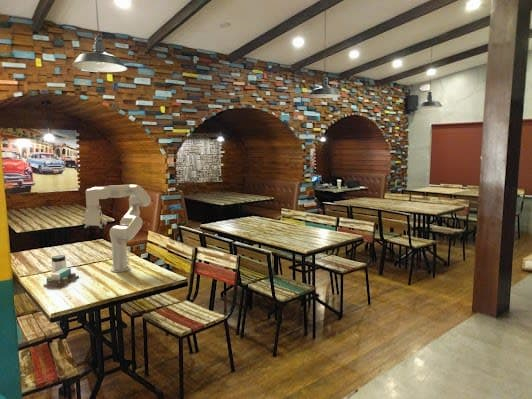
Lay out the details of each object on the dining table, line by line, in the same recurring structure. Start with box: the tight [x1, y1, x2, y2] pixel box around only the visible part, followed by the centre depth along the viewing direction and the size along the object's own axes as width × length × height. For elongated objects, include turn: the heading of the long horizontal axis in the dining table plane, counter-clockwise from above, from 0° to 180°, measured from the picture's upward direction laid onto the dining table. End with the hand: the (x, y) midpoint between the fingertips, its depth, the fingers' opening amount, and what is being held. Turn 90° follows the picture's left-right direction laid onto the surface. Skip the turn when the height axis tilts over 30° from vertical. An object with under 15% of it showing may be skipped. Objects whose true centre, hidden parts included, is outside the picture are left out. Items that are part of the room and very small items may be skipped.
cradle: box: [43, 272, 80, 288], centre depth 257 cm, size 19×12×4 cm, turn 174°
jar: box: [50, 254, 68, 274], centre depth 273 cm, size 9×8×12 cm
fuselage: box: [50, 267, 72, 284], centre depth 257 cm, size 13×5×6 cm, turn 174°
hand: (94, 233), depth 259 cm, fingers open, 9 cm apart
